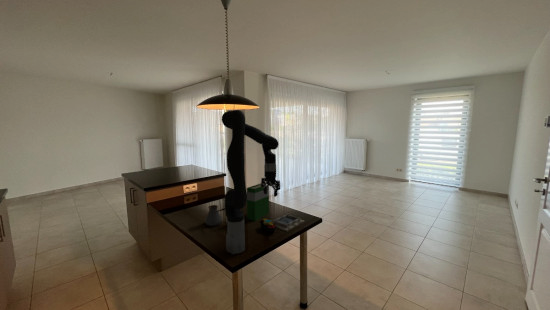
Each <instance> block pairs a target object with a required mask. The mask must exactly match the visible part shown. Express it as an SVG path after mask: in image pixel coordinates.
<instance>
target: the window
mask: <svg viewBox="0 0 550 310" xmlns="http://www.w3.org/2000/svg"><path fill="white" fill-rule="evenodd" d="M304 222H305V220H302V219H301V217H298V216H294V215H291V214H285V215H282V216H280V217H278V218H276V219H273V220H272V223H273V224H275V225H276V226H277V227H276V229H279V230H282V231H285V232H290V231H291V230H293V229H294V228H296V227H297V226H299V225H301V224H303V223H304Z"/></svg>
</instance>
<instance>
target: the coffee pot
mask: <svg viewBox="0 0 550 310" xmlns="http://www.w3.org/2000/svg"><path fill="white" fill-rule="evenodd" d="M218 208H219V206H218V205H216V204H213V205H212V204H211V205H209V206H208V209H209V210H208V213H207V215H206V217H205V220H204V223H205V225H206V226H209V227H216V226H218V225H220V224H221V223H222V222H223V218H222V216H221V215H220V212H221V211H225V207H224V208H223V207H222V208H221V209H218Z"/></svg>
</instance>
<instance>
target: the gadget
mask: <svg viewBox="0 0 550 310" xmlns="http://www.w3.org/2000/svg"><path fill="white" fill-rule="evenodd" d="M272 222H273V220H272V219H268V218H263V219H261V220H260V221H259V224H260V227H261V228H263V229H264V230H266V231H267V233H273V232H275V230H276V229H277V226H276V225H275V224H273V223H272Z"/></svg>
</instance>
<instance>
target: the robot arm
mask: <svg viewBox="0 0 550 310" xmlns="http://www.w3.org/2000/svg"><path fill="white" fill-rule="evenodd" d="M221 122H222V124H223V125H224V127H226V128H228V129H230V130H231V131H232V132H231V134H232V135H231V140H230V144H229V145H228V149H227V152H226V168H227V171H228V173H229V175H230V177H231V180H232V183H233V188H231V189H229V190H228V191H226V194H225V196H224V208H225V210H224V211H225V215H226V219H227V221H226V223H227V225H226V226H227V232H226V234H225V245H226V246H225V247H226V250H225V251H226V252H228V253H229V254H231V255H233V256H235V254H236V255H237V254H241V253H243V252H244V251H245V250H246V239H245V237H246V234H245V233H246V231H245V229H246V228H245V227H246V225H245V213H244V212H243V210H242V209H244V208H245V207H246V206H247V185H246V171H245V170H246V169H245V168H246V167H245V163H246V161H245V160H246V159H245V136H246V137H248V138H249V139H251V140H253V141H254V142H256V143H257V144H259V145H261V148H262V153H263V155H264V167H263V169H264V171H263V172H264V177H261V179H260V180H261V181H260V183H261V187H263V188H264V194H267V187H268V186H269V187H271V188H272V189H273V197H276V198H277V197H278V191H279V190H281V181H280V179H276V178H277V155H276V154H275V153H273V152H272V150H277V148H279V140H278V139H277V138H276V137H274V136H271V135H269V134H267V133H265V132H264V131H262V130H260V129H259V128H257V127H255V126H253V125H249V124H247V123H246V116H245V114H244V112H243V111H242V110H241V109H234V110H233V109H232V110H227V111H225V112H224V113H223V114H222V115H221Z"/></svg>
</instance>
